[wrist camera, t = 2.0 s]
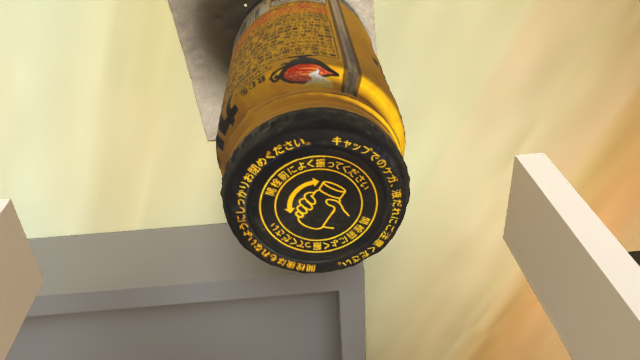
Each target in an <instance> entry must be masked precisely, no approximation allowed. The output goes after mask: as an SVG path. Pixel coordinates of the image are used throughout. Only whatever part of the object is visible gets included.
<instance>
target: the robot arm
mask: <svg viewBox="0 0 640 360" xmlns="http://www.w3.org/2000/svg"><path fill="white" fill-rule="evenodd" d="M503 239H504V240H505V242H506V244H507V246H508V247H509V249H510V251H511V253H512V254H513V256H514V258H515V260H516V261H517V263H518V265H519V267H520V268H521V270H522V272H523V274H524V275H525V277H526V279H527V281H528V282H529V284H530V286H531V288H532V289H533V291H534V293H535V295H536V296H537V298H538V300H539V302H540V303H541V305H542V307H543V309H544V310H545V312H546V314H547V316H548V317H549V319H550V321H551V323H552V324H553V326H554V328H555V330H556V331H557V333H558V335H559V337H560V338H561V340H562V342H563V344H564V345H565V347H566V349H567V351H568V352H569V354H570V356H571V358H572V359H573V360H640V251H633V252H627V251H626V250H625V249H624V247H623V246H622V245H621V244H620V243H619V241H618V240H617V239H616V238H615V237H614V236H613V234H612V233H611V232H610V231H609V230H608V228H607V227H606V226H605V225H604V224H603V222H602V221H601V220H600V219H599V218H598V217H597V215H596V214H595V213H594V212H593V211H592V209H591V208H590V207H589V206H588V205H587V204H586V202H585V201H584V200H583V199H582V198H581V196H580V195H579V194H578V193H577V192H576V190H575V189H574V188H573V187H572V186H571V185H570V183H569V182H568V181H567V180H566V179H565V177H564V176H563V175H562V174H561V173H560V172H559V170H558V169H557V168H556V167H555V166H554V164H553V163H552V162H551V161H550V160H549V159H548V157H547V156H546V155H545V154H544V153H535V154H523V155H515V160H514V167H513V174H512V181H511V187H510V194H509V201H508V208H507V215H506V222H505V229H504V236H503ZM43 281H44V279H43V277H42V274H41V272H40V269H39V267H38V264H37V262H36V260H35V257H34V255H33V252H32V250H31V247H30V245H29V242H28V240H27V238H26V235H25V233H24V230H23V228H22V225H21V223H20V221H19V218H18V216H17V213H16V211H15V208H14V206H13V203H12V201H11V199H2V200H0V360H5V358H6V356H7V354H8V352H9V350H10V348H11V346H12V344H13V342H14V340H15V338H16V336H17V334H18V332H19V330H20V328H21V326H22V323H23V321H24V319H25V317H26V315H27V313H28V311H29V309H30V307H31V305H32V303H33V301H34V299H35V297H36V295H37V293H38V291H39V289H40V287H41V285H42V283H43Z"/></svg>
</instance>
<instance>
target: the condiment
mask: <svg viewBox="0 0 640 360" xmlns="http://www.w3.org/2000/svg"><path fill="white" fill-rule="evenodd" d="M168 2H169V5H170V8H171V11H172V14H173V18H174V21H175V25H176V28H177V31H178V35H179V39H180V42H181V46H182V49H183V52H184V55H185V59H186V63H187V67H188V70H189V74H190V77H191V79H192V84H193V88H194V92H195V96H196V100H197V103H198V107H199V110H200V113H201V117H202V122H203V125H204V129H205V132H206V136H207V140H215V139H216V151H217V160H218V164H219V168H220V170H221V173H222V176H223V177H222V189H221V192H220V193H221V196H222V200H223V208H224V212H225V215H226V218H227V222H228V224H229V226H230V228H231V231H232V232H233V234H234V236H235V237H236V238H237V240H238V241H239V243H240V244H241V245H242V246H243V247H244V248H245V249H246V250H248V251H249V252H251V253H252V254H253V255H255V256H256V257H257V258H259V259H260V260H262V261H263V262H265V263H267V264H269V265H272V266H276V267H279V268H282V269H287V270H292V271H297V272H300V273H305V274H306V273H326V272H332V271H335V270H340V269H345V268H347V267H352V266H355V265H357V264H358V263H360V262H361V261H363V260H365V259H366V258H368V257H370V256H372V255H374V254H376V253H378V252H379V251H381V250H382V249H383V248H384V247H385V246H386V245H387V244H388V243H389V241H390V240H391V239H392V238H393V236H394V235H395V233H396V231H397V229H398V228H399V226H400V224H401V222H402V220H403V218H404V215H405V212H406V206H407V204H408V202H409V197H410V188H409V182H410V177H409V175H408V171H407V166H406V164H405V162H404V160H403V157H404V150H405V142H406V141H405V131H404V126H403V122H402V116H401V114H400V112H399V109H398V106H397V103H396V101H395V99H394V97H393V95H392V93H391V91H390V89H389V86H388V84H387V82H386V80H385V76H384V74H383V72H382V68H381V65H380V63H379V60H378V58H377V48H376V36H375V24H374V13H373V0H168ZM244 4H247V7H245V6H244Z"/></svg>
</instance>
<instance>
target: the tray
mask: <svg viewBox="0 0 640 360" xmlns="http://www.w3.org/2000/svg"><path fill="white" fill-rule="evenodd" d="M27 240H28V242H29V245H30V247H31V250H32V252H33V255H34V257H35V260H36V262H37V264H38V267H39V269H40V272H41V274H42V277H43V279H44V281H43V283H42V285H41V287H40V289H39V291H38V293H37V295H36V297H35V299H34V301H33V303H32V305H31V307H30V309H29V311H28V313H27V315H26V317H25V319H24V321H23V323H22V326H21V328H20V330H19V332H18V334H17V336H16V338H15V340H14V342H13V344H12V346H11V348H10V350H9V352H8V354H7V356H6V358H5V360H366V357H365V295H364V266H363V261H361V262H360V263H358V264H357V265H355V266H352V267H347V268H345V269H340V270H335V271H332V272H326V273H306V274H305V273H300V272H297V271H292V270H287V269H282V268H279V267H276V266H272V265H269V264H267V263H265V262H263V261H262V260H260V259H259V258H257V257H256V256H255V255H253V254H252V253H251V252H249V251H248V250H246V249H245V248H244V247H243V246H242V245H241V244H240V243H239V241H238V240H237V238H236V237H235V236H234V234H233V232H232V231H231V228H230V226H229V224H228V223H222V224H210V225H197V226H185V227H173V228H160V229H148V230H135V231H123V232H111V233H98V234H86V235H73V236H61V237H48V238H36V239H27Z"/></svg>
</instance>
